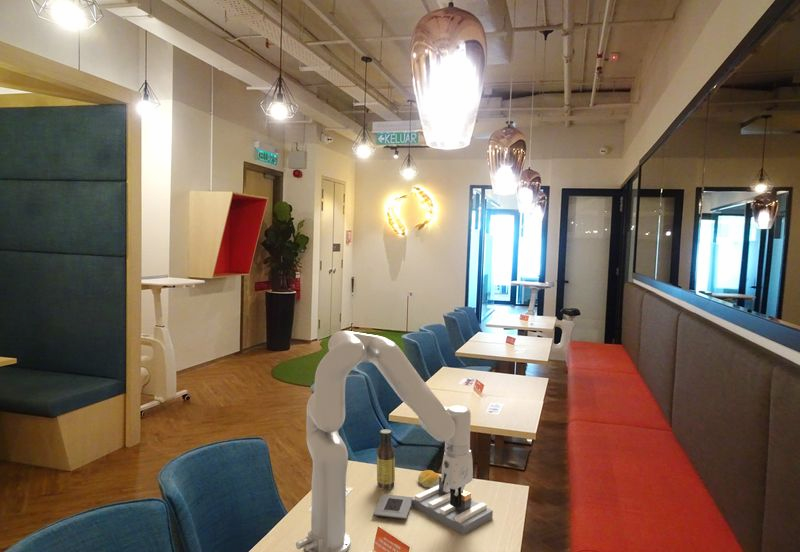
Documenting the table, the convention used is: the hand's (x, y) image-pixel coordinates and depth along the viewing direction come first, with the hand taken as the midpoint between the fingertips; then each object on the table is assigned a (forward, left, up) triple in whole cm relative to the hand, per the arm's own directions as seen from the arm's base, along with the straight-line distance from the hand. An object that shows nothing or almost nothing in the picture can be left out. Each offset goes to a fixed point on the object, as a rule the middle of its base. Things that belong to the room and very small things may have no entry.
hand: (455, 505), depth 162 cm
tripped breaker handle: (+4, 0, -3) cm, 5 cm away
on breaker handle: (+8, +11, -3) cm, 14 cm away
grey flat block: (-9, +18, -6) cm, 21 cm away
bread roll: (+14, +24, -6) cm, 28 cm away
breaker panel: (+4, +5, -5) cm, 8 cm away
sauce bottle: (0, +32, -6) cm, 33 cm away
